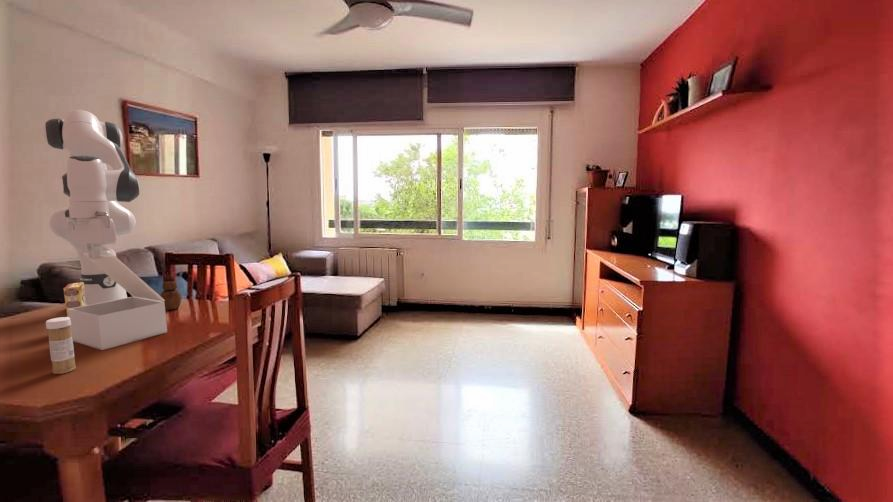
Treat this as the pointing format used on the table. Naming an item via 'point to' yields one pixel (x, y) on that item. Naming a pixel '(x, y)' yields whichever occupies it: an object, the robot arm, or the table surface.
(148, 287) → the carton flap
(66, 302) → the candy box
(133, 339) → the carton
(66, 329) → the sprinkles bottle
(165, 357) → the table surface
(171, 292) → the wooden figurine
